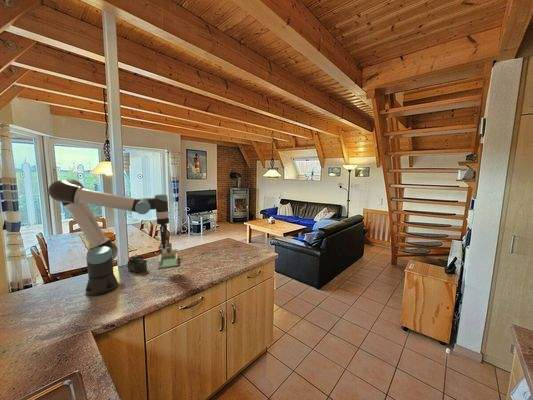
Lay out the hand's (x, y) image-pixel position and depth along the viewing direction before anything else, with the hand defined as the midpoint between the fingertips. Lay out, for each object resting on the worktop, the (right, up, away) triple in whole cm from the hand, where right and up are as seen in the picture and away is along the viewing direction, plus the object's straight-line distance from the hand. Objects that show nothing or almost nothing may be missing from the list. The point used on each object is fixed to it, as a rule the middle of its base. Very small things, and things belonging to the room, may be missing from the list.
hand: (165, 251), depth 158 cm
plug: (0, 0, 0) cm, 1 cm away
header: (-4, -12, +16) cm, 20 cm away
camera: (-20, -14, +2) cm, 24 cm away
